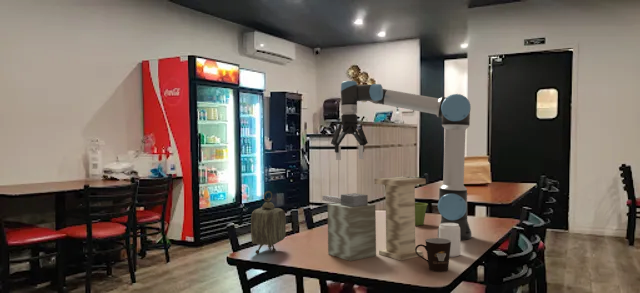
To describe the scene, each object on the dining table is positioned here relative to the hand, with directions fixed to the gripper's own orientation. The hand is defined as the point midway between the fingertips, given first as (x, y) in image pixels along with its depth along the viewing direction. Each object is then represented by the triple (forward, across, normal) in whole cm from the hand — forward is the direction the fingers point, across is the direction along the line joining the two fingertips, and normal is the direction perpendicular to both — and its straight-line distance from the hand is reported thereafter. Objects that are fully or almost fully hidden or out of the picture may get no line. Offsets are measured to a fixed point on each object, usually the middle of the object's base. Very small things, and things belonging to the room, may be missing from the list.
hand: (349, 159), depth 212 cm
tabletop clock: (+37, -44, -1) cm, 57 cm away
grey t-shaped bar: (+17, -21, -20) cm, 34 cm away
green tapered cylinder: (+37, +49, +4) cm, 61 cm away
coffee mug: (+37, -11, -60) cm, 71 cm away
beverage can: (+37, +9, -50) cm, 63 cm away
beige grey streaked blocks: (+37, -13, -33) cm, 51 cm away
